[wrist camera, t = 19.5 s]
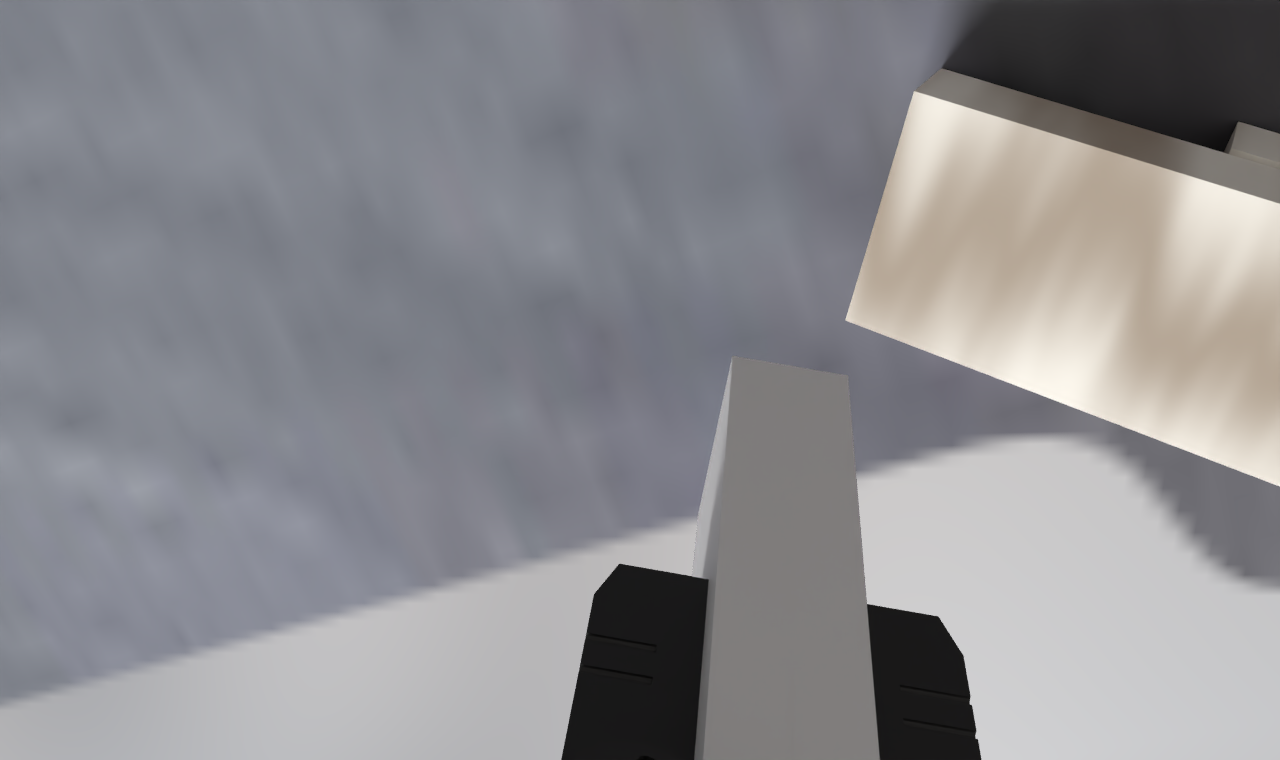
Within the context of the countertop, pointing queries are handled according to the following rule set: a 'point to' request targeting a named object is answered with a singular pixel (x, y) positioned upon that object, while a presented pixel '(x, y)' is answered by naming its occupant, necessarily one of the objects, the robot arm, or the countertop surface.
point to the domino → (1085, 266)
